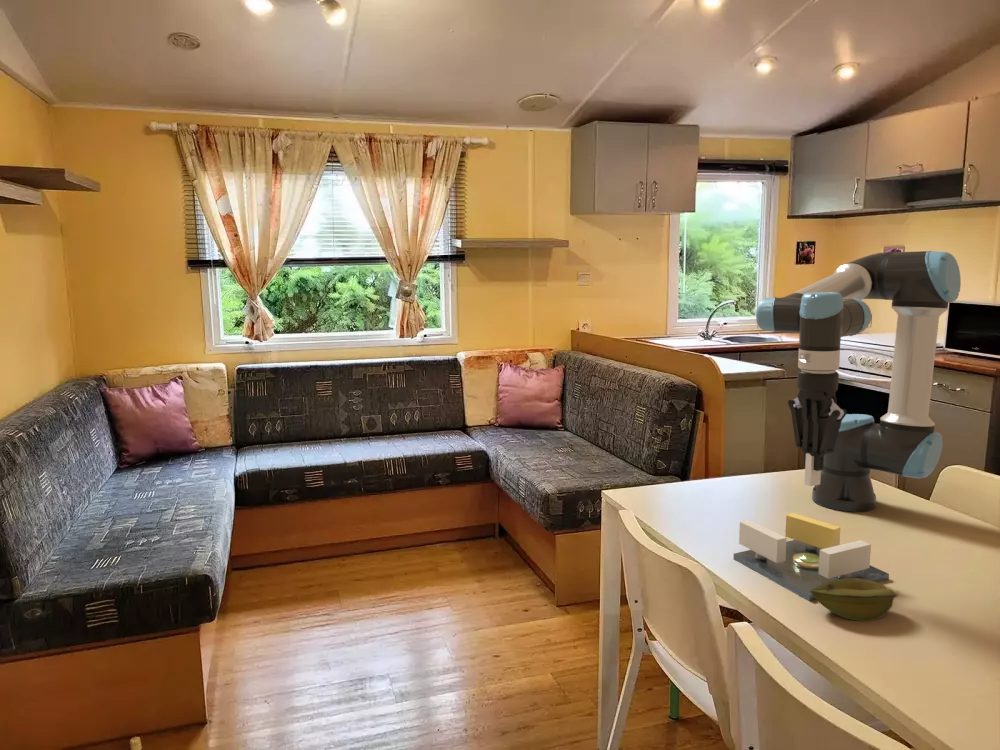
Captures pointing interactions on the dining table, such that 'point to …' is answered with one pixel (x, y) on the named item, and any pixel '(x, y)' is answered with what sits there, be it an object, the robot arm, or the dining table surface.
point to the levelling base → (800, 569)
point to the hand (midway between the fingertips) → (812, 484)
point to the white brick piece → (844, 559)
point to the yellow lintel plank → (812, 532)
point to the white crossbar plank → (762, 541)
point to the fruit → (855, 598)
